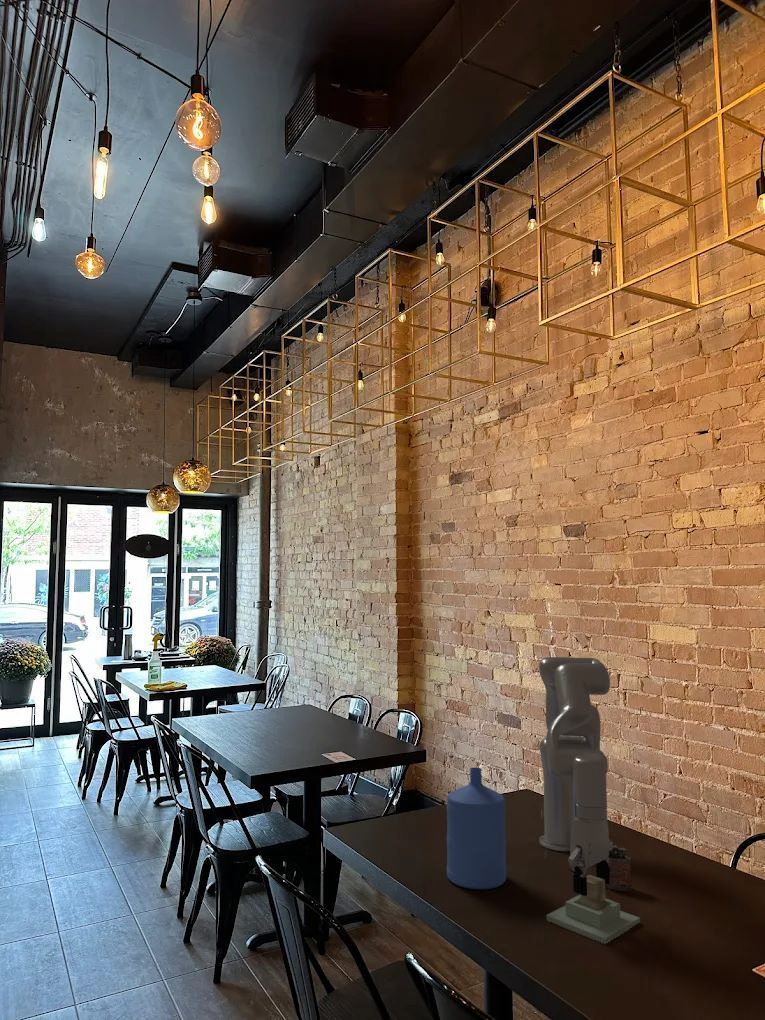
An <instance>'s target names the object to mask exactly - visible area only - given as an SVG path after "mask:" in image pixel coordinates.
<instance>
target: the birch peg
mask: <svg viewBox="0 0 765 1020" xmlns="http://www.w3.org/2000/svg"><path fill="white" fill-rule="evenodd" d="M585 877H587V895H586V896H583V895H581V894H579V895H580V898H581V905H582V906H585V907H587V908H590V909H593V910H595V911H599V910H601V909H603V908H605V898H606V888H605V880H604V879H601V878H597V876H593V875H591V874H588V875H585Z"/></svg>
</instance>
